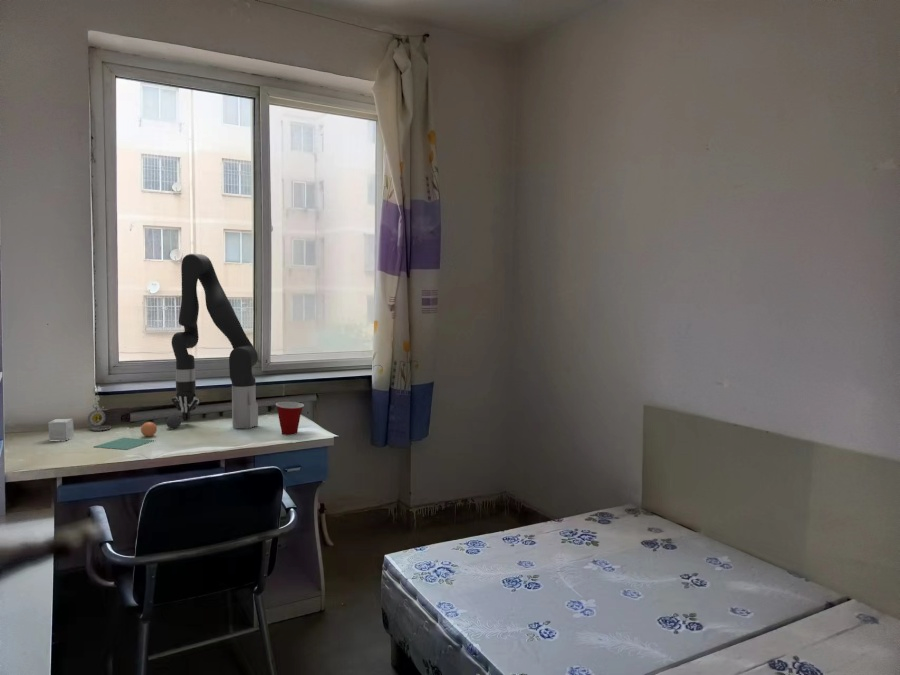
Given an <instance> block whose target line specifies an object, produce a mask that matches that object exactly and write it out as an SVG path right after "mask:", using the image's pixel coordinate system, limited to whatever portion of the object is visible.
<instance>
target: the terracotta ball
mask: <svg viewBox="0 0 900 675" xmlns="http://www.w3.org/2000/svg"><path fill="white" fill-rule="evenodd" d="M157 428H158V426H157V425H156V424H155V422H152V421H147V422H144V423H143V424H142V425H141V428H140V433H141V434H142V435H143V436H144V437H147V436H149V437H153V436H154V435H155V434H156V432H157V430H158V429H157Z"/></svg>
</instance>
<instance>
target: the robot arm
mask: <svg viewBox="0 0 900 675" xmlns="http://www.w3.org/2000/svg"><path fill="white" fill-rule="evenodd" d="M180 269H181V270H180V272H181V301H180V308H179V313H178V314H179V315H178V324H179V326H182V327H183V329H184V331H179V332H176V333H174V334H173V335H172V338H171V348H172V351H173V355H174V357H175V368H176V369H175V370H176V371H175V391H176V395H175V396H174V397H172V398H171V401H172V403H173V404H174V406H175V408H176V409H177V411H181V413H182V416H181V417H182V419H181V420H183V422H190V420H191V412H193V411H195V410H196V409H197V407H198V405H199V404H200V402H201V401H202V400H201V399H200V398H197V397H196V388H197V387H196V383H197V382H196V369H195V367H196V365H195V356H194V355H192V354H189V352H188V349H192V348H195V347H196V346H197V344H198V342H199V329H198V328H199V327H198V318H199V308H200V303H199V298H198V291H197V286H198V281H199V282H200V284H201V286H202V288H203V291H204V297H205V300H204V301H205V307H206V310H207V312H208V314H209V316H210V318H211V320H212V322H213V324H214V325H215V326H216V327H217V329H218V330H219V331H220V332H221V333H222V334H223V335H224V336H225V337H226V338H227V340H228V341H229V343H230V345H231V347H232V350H231V351H230V353H229V356H228V369H229V370H228V371H229V378H230V381H231V410H232V411H231V413H232V414H231V417H232V418H231V420H232V424H231V425H232V428H233V429H237V428H245V429H252V427H253V428H255V427H257V426H256V425H258V426H259V404H258V402H257V399H256V398H257V397H256V394H257V393H256V392H257V391H256V390H257V388H256V385H257V384H256V377H254V375H253V368H252V367H254V366H255V365H256V364H257V363H258V359H259V357H258V352H257V350H256V349H255V347H254V345H253V343H252V342H251V341H250V339H249V338H248V336H247V334H246V332H245V331H244V329H243V326H242V324H241V322H240V320H239V318H238V316H237V314H236V311H235V310H234V308H233V306H232V304H231V302H230V300H229V299H228V296H227V295H226V293H225V291H224V289H223V287H222V285H221V283H220V281H219V278H218V275H217V273H216V270H215V268H214V265H213V263H212V260H210V258H209V256H207V255H204V254H202V253H200V254H199V253H188V254H186V255H185V256H184V257H183V258H182V261H181V267H180ZM254 426H255V427H254Z"/></svg>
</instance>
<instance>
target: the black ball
mask: <svg viewBox="0 0 900 675" xmlns="http://www.w3.org/2000/svg"><path fill="white" fill-rule="evenodd" d="M165 421H166V422H165V423H166V424H165V425H166V426H167V427H168V428H170V429H171V428H175V429H177V428H179V427H180V426H181V424H182V419H181V417H180V416H179V415H176V414H172V415H169V416H168V417H167V419H166V420H165Z"/></svg>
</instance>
